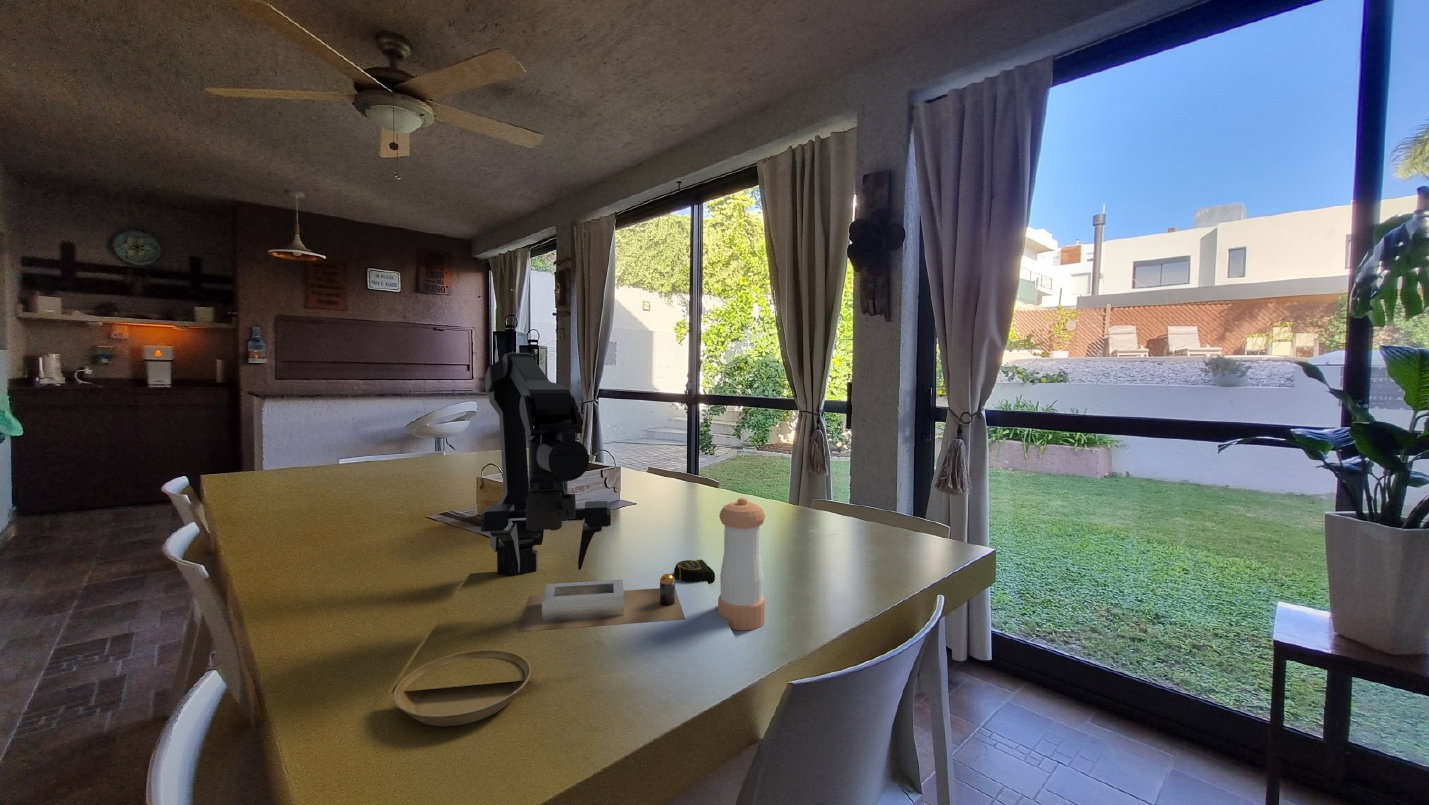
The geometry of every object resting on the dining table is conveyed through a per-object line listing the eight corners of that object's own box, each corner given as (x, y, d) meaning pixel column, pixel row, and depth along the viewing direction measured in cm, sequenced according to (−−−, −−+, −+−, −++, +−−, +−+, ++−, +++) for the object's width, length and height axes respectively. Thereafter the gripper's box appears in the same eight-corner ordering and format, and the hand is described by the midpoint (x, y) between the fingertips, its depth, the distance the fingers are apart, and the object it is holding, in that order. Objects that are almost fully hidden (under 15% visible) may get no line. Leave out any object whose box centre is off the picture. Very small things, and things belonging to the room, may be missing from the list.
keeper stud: (660, 606, 90) (660, 577, 90) (659, 600, 93) (659, 572, 92) (675, 605, 91) (675, 576, 91) (673, 599, 93) (673, 571, 93)
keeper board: (517, 642, 81) (517, 631, 81) (529, 605, 94) (529, 596, 94) (685, 628, 86) (685, 619, 86) (674, 595, 99) (674, 587, 98)
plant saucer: (385, 692, 69) (385, 671, 69) (510, 657, 78) (509, 638, 77) (404, 759, 57) (404, 733, 57) (549, 708, 66) (549, 686, 66)
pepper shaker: (757, 633, 84) (758, 505, 83) (711, 626, 87) (711, 501, 86) (769, 614, 91) (771, 495, 90) (726, 607, 94) (727, 492, 93)
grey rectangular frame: (542, 621, 85) (541, 601, 85) (546, 602, 92) (546, 584, 91) (624, 615, 87) (623, 595, 87) (622, 597, 94) (622, 579, 94)
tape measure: (716, 589, 102) (716, 568, 102) (679, 593, 100) (679, 572, 100) (705, 576, 109) (705, 556, 109) (670, 580, 107) (670, 560, 106)
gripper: (471, 482, 78) (473, 594, 78) (611, 478, 81) (611, 586, 82) (487, 468, 88) (488, 567, 89) (610, 465, 92) (610, 561, 93)
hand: (549, 570), depth 88 cm, fingers open, 9 cm apart
